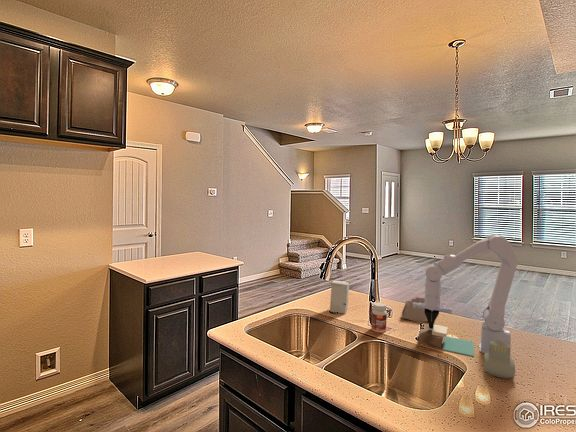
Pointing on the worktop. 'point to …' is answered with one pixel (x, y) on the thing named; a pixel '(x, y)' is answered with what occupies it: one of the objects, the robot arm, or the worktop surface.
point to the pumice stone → (414, 311)
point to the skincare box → (339, 297)
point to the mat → (458, 346)
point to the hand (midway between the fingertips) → (431, 327)
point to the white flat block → (440, 330)
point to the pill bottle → (379, 317)
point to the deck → (429, 338)
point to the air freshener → (499, 360)
